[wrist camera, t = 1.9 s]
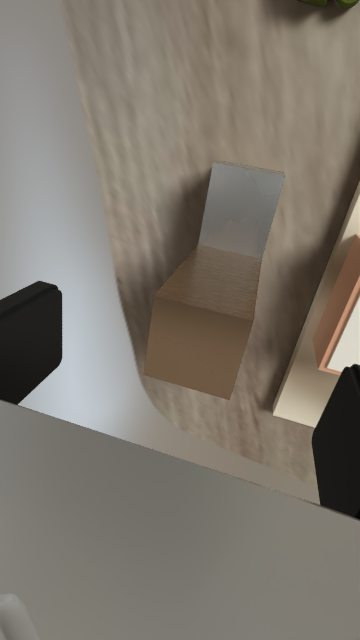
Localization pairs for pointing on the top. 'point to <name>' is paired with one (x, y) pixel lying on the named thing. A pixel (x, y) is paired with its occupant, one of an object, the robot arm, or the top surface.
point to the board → (302, 372)
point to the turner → (215, 284)
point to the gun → (343, 0)
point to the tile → (341, 319)
